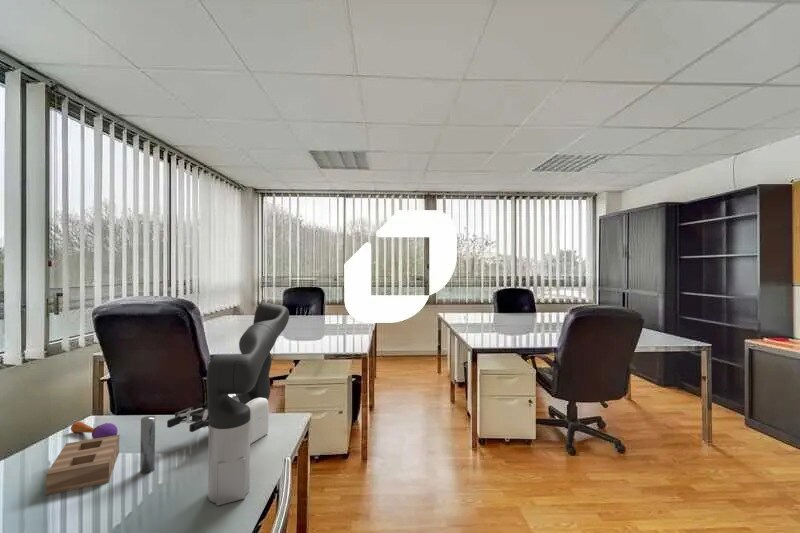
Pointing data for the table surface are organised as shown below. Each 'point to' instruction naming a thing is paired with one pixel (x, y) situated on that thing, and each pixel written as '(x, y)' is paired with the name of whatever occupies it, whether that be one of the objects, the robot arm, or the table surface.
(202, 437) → the table surface
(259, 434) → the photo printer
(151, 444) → the pin
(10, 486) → the table surface
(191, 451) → the table surface
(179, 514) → the table surface
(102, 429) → the maraca
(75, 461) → the block
